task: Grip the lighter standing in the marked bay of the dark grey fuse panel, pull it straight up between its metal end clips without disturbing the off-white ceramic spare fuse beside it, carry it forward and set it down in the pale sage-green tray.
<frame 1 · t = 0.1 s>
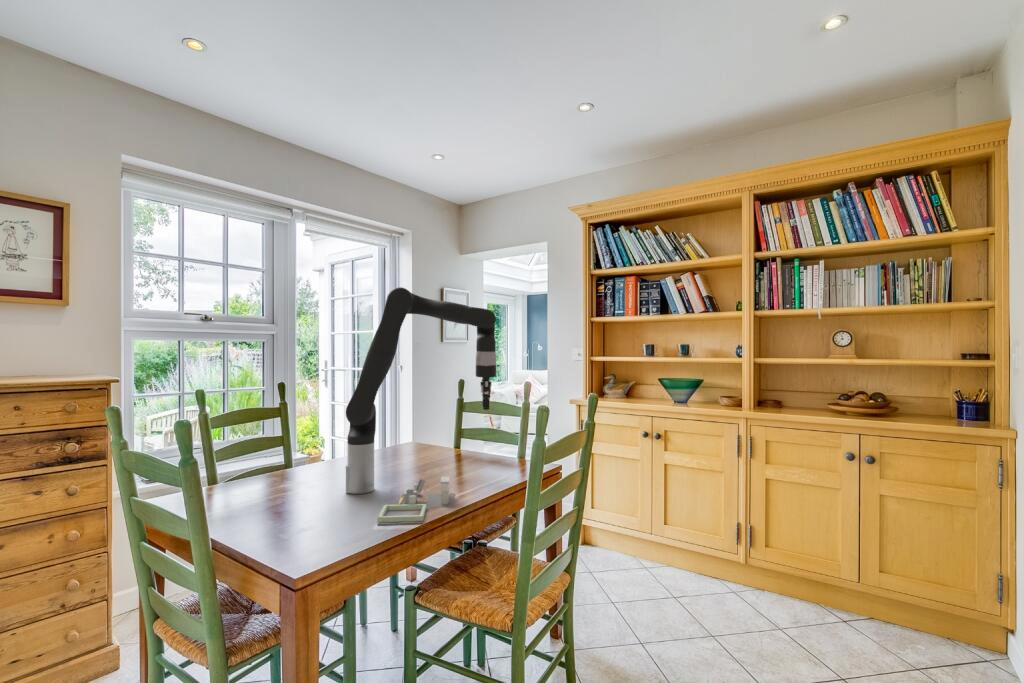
hand: (485, 408, 180), 29 cm above the table, tool pointing down, fingers open, 8 cm apart
spare fuse: (445, 500, 161), point 1 cm above the table, touching fuse panel
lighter: (414, 505, 160), resting in fuse panel
tray: (402, 518, 147), on the table
fuse panel: (426, 504, 161), on the table
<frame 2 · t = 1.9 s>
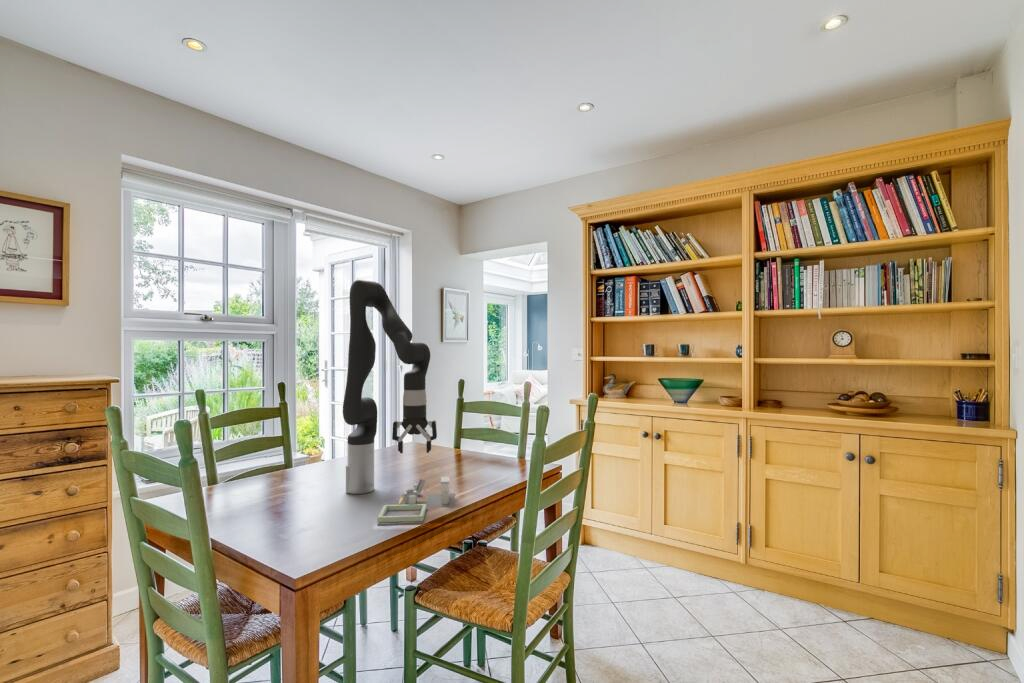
hand: (414, 452, 160), 17 cm above the table, tool pointing down, fingers open, 8 cm apart
nothing on the table moved.
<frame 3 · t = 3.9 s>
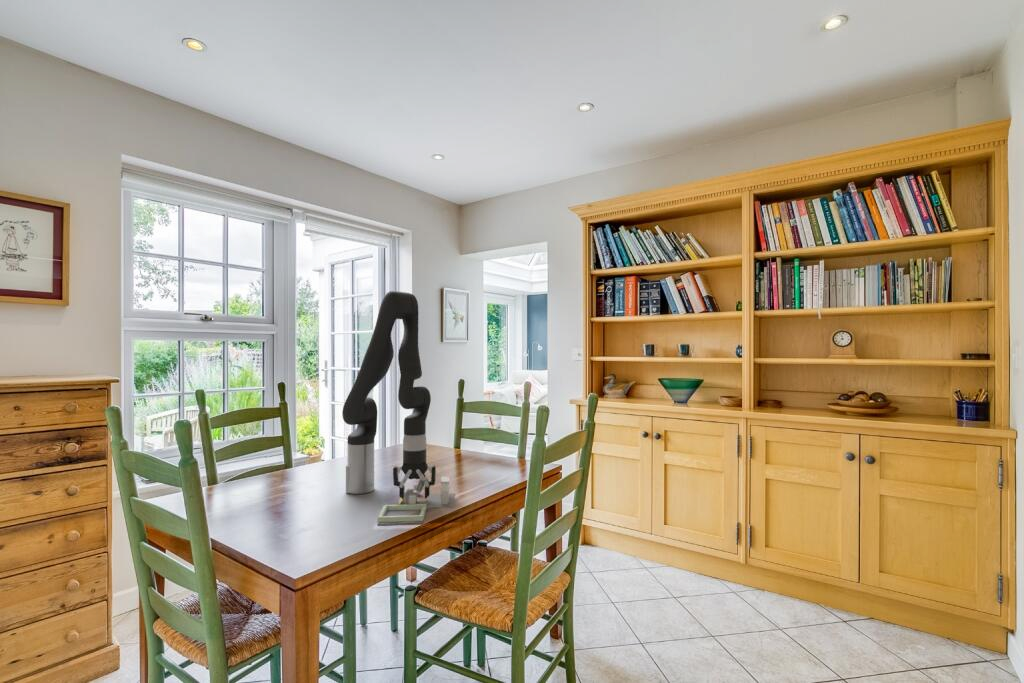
hand: (414, 497, 160), 2 cm above the table, tool pointing down, fingers closed on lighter, 7 cm apart
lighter: (414, 505, 160), resting in fuse panel, touching gripper
everything else where it was.
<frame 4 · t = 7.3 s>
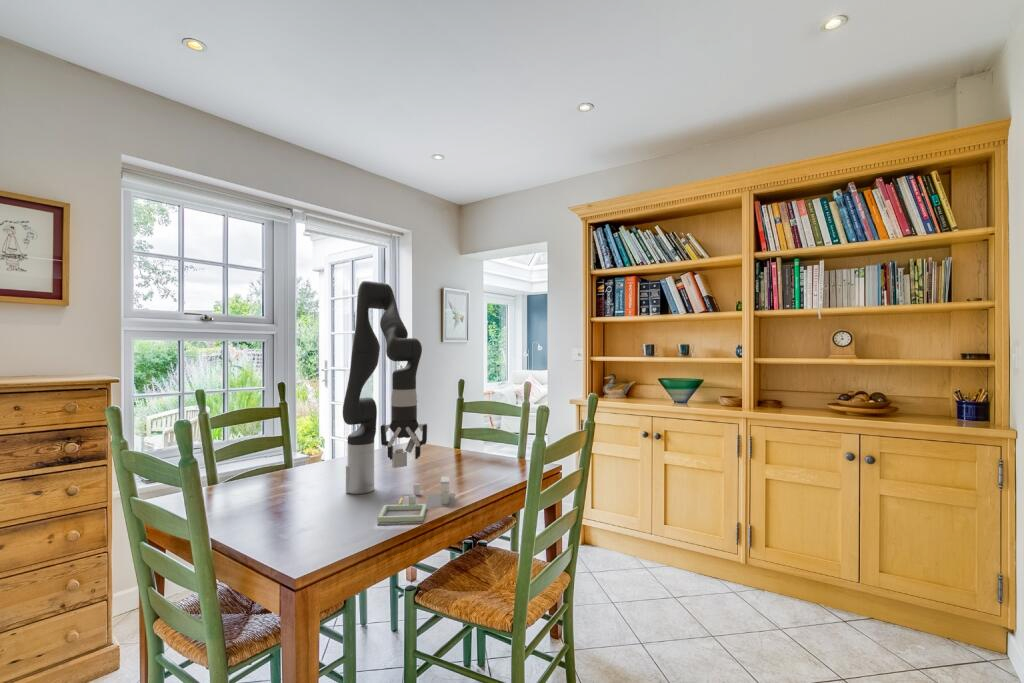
hand: (404, 458, 148), 18 cm above the table, tool pointing down, fingers closed on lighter, 7 cm apart
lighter: (404, 466, 148), point 16 cm above the table, touching gripper
everything else where it was.
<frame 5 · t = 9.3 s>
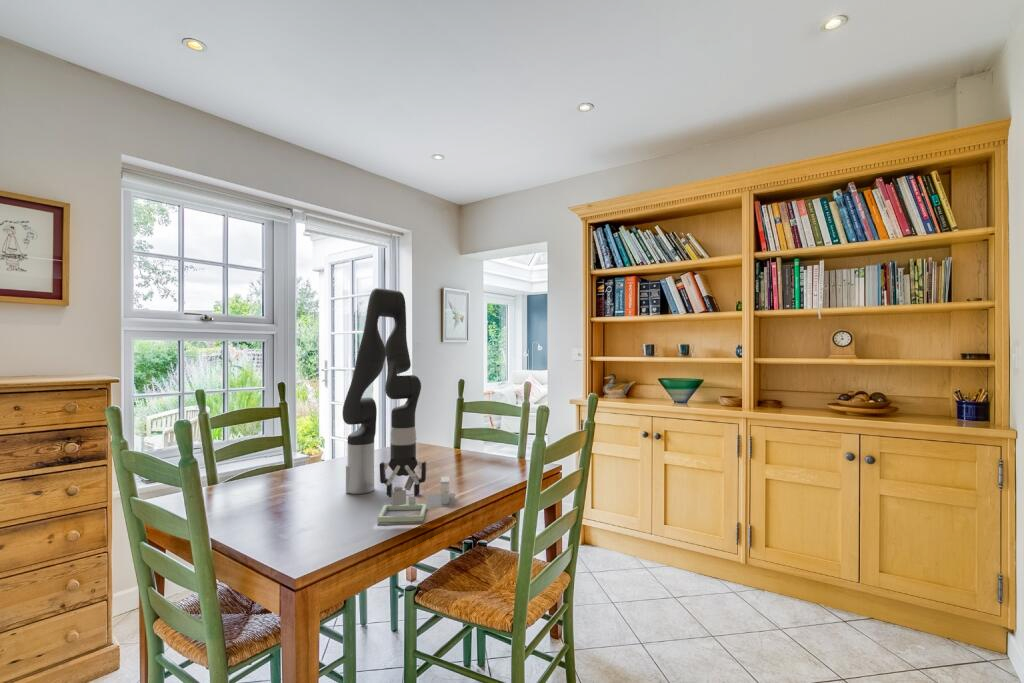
hand: (403, 496, 147), 7 cm above the table, tool pointing down, fingers closed on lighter, 7 cm apart
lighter: (403, 504, 147), point 4 cm above the table, touching gripper
everything else where it was.
when the fingers open (4 cm above the table, at t = 10.9 s): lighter drops 1 cm, resting on tray.
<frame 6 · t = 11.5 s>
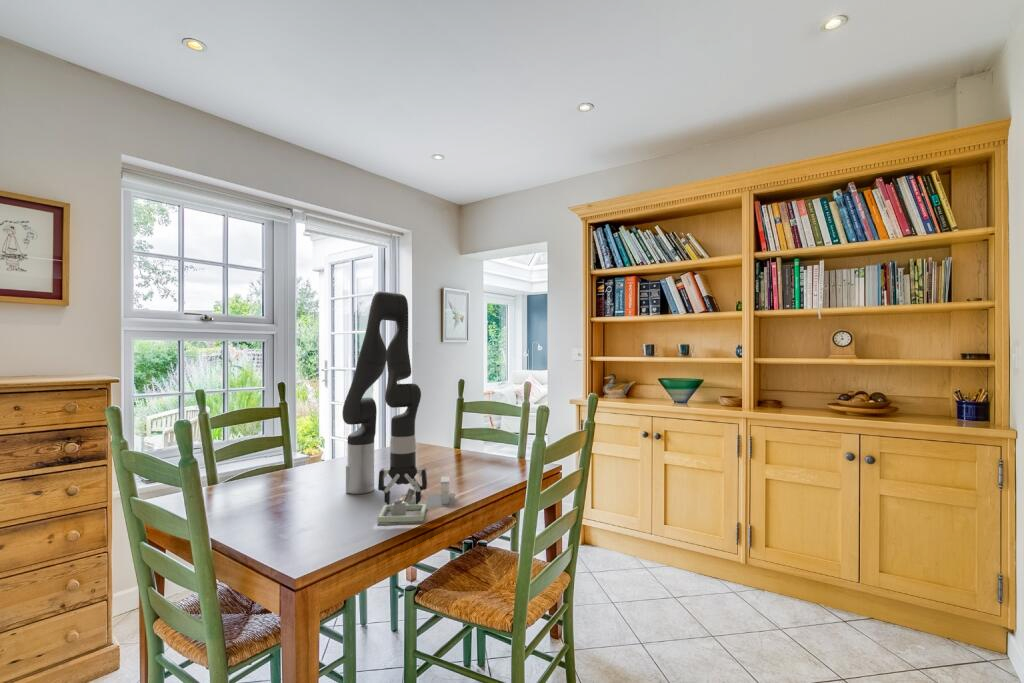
hand: (402, 503, 147), 5 cm above the table, tool pointing down, fingers open, 8 cm apart
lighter: (402, 517, 147), resting on tray
everything else where it was.
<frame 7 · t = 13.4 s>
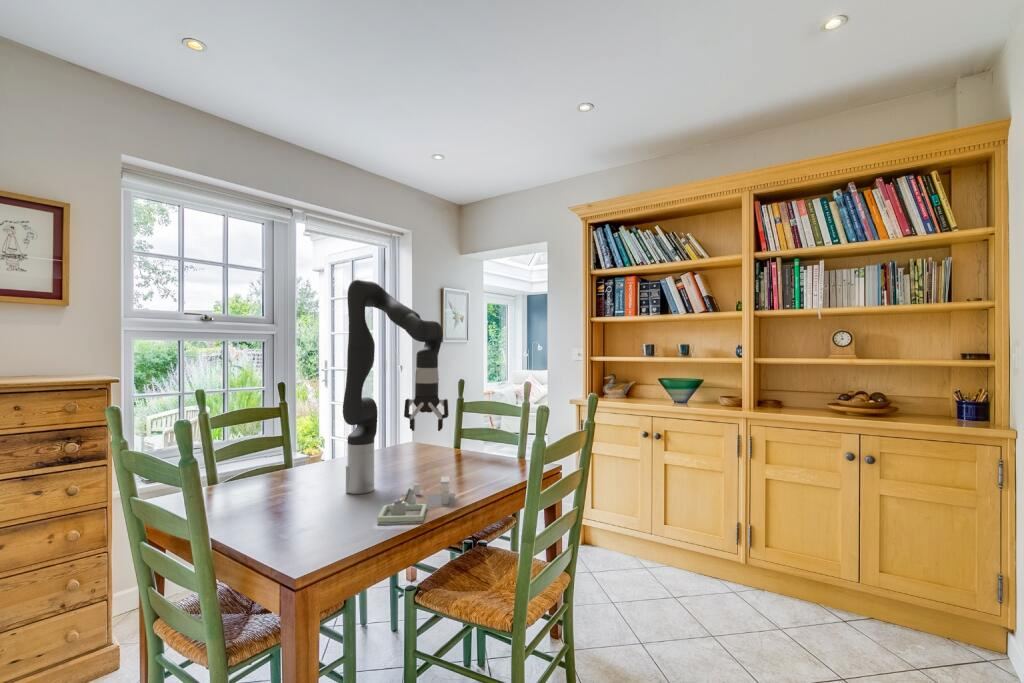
hand: (426, 430, 161), 24 cm above the table, tool pointing down, fingers open, 8 cm apart
nothing on the table moved.
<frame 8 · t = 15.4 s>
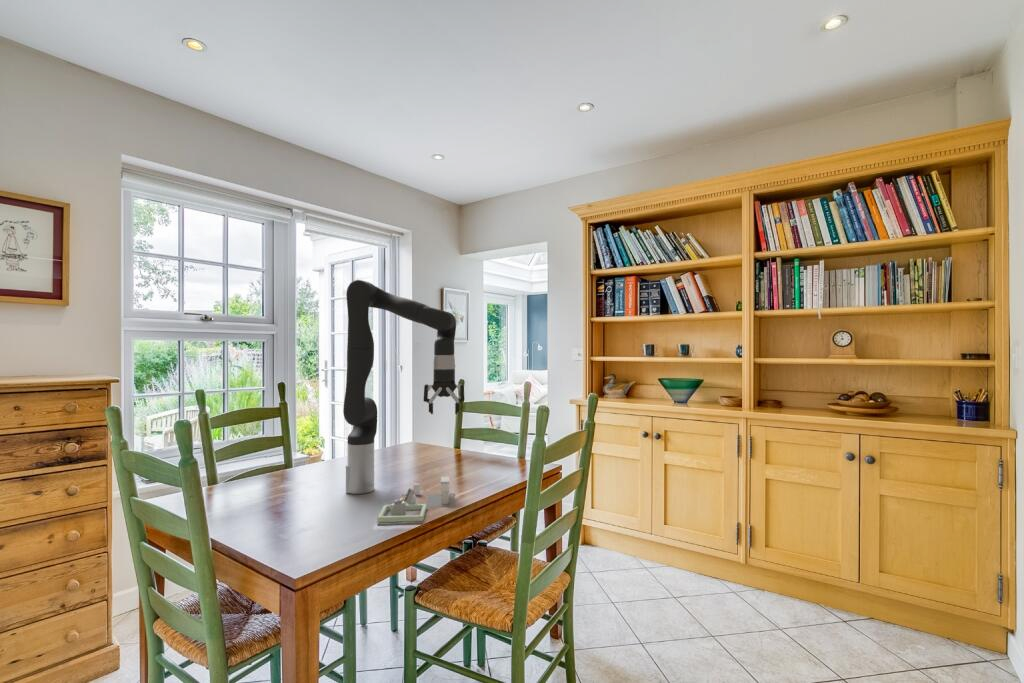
hand: (444, 413, 172), 28 cm above the table, tool pointing down, fingers open, 8 cm apart
nothing on the table moved.
at the end: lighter inside the target area on the tray (0.1 cm from its centre), point 0.4 cm above the tray's base; spare fuse moved 0.0 cm from its start; the gripper is holding nothing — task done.
